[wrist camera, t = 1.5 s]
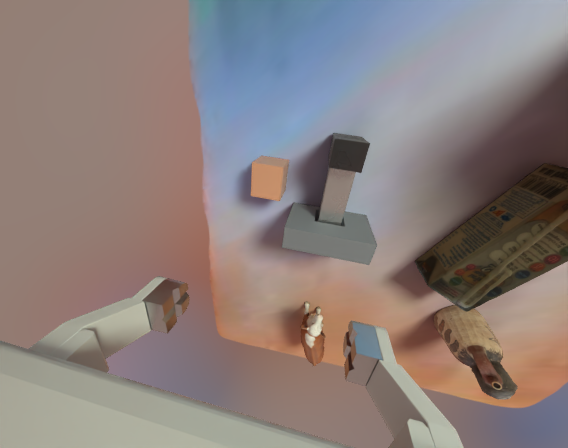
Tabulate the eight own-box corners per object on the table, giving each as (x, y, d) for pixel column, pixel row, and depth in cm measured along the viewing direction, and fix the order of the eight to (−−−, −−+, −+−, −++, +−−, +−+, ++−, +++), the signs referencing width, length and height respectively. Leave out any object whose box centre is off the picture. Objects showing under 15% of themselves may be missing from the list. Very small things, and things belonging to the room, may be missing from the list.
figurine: (438, 334, 40) (476, 413, 30) (427, 309, 38) (465, 385, 27) (483, 327, 37) (543, 411, 27) (475, 299, 35) (537, 380, 25)
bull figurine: (326, 290, 40) (326, 329, 33) (323, 335, 46) (323, 376, 39) (303, 288, 41) (298, 325, 34) (303, 332, 47) (299, 372, 40)
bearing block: (293, 202, 33) (284, 227, 26) (366, 215, 31) (377, 245, 25) (291, 219, 34) (281, 247, 27) (360, 232, 33) (369, 265, 26)
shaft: (333, 132, 27) (335, 138, 22) (361, 136, 26) (369, 143, 21) (313, 227, 34) (311, 248, 28) (335, 231, 33) (337, 254, 28)
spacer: (261, 155, 30) (252, 162, 26) (289, 159, 30) (283, 167, 26) (260, 185, 32) (250, 195, 29) (285, 189, 32) (279, 201, 28)
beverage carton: (409, 259, 34) (426, 290, 28) (542, 157, 25) (607, 171, 19) (446, 284, 35) (470, 318, 29) (588, 195, 26) (663, 219, 20)
